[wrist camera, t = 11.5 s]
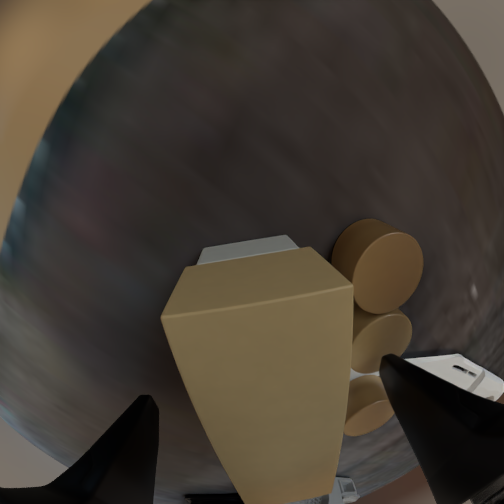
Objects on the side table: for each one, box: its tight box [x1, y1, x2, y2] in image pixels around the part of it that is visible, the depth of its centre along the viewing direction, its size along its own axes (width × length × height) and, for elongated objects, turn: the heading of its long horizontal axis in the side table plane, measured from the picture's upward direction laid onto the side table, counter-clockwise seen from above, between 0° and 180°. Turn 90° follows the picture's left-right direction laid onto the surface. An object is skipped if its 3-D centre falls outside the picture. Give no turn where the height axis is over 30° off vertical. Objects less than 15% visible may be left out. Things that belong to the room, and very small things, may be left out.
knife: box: [350, 354, 504, 401], centre depth 13 cm, size 30×2×8 cm
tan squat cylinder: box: [343, 375, 394, 436], centre depth 11 cm, size 3×3×2 cm
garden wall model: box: [285, 477, 359, 504], centre depth 14 cm, size 12×2×6 cm, turn 48°
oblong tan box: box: [160, 235, 353, 504], centre depth 8 cm, size 4×10×5 cm, turn 8°
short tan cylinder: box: [351, 300, 412, 374], centre depth 10 cm, size 3×3×2 cm
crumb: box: [332, 219, 423, 314], centre depth 9 cm, size 3×3×2 cm
